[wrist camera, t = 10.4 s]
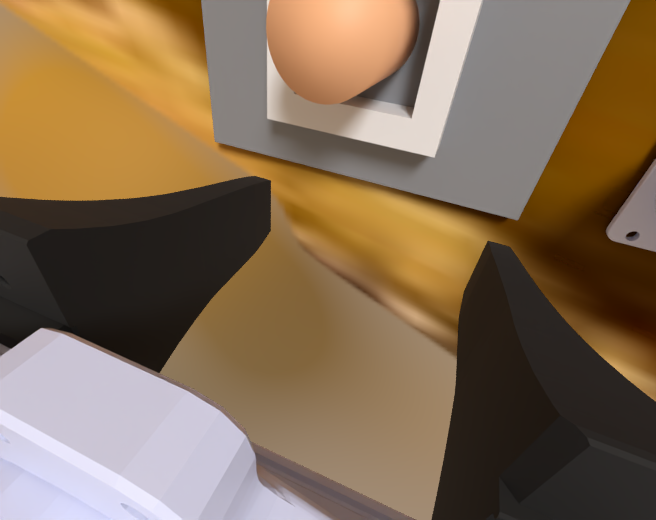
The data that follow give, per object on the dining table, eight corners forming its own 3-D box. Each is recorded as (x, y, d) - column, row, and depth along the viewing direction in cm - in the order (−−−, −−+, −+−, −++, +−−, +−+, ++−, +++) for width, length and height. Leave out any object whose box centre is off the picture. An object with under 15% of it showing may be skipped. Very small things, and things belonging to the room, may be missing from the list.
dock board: (732, -219, 10) (803, -288, 8) (516, 211, 18) (520, 240, 16) (196, -213, 14) (138, -257, 12) (224, 137, 22) (194, 151, 20)
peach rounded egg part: (431, -25, 14) (400, -45, 9) (407, 86, 16) (373, 115, 12) (336, -34, 15) (265, -56, 10) (327, 72, 17) (266, 93, 12)
